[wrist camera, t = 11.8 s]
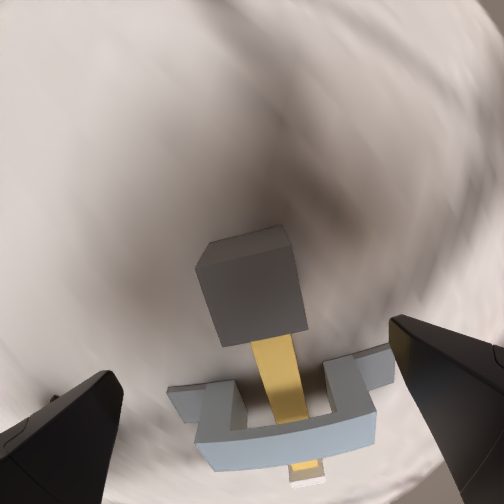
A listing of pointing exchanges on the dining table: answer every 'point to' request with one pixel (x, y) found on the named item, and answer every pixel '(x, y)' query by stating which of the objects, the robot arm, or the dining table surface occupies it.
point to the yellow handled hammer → (262, 319)
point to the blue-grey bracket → (292, 433)
